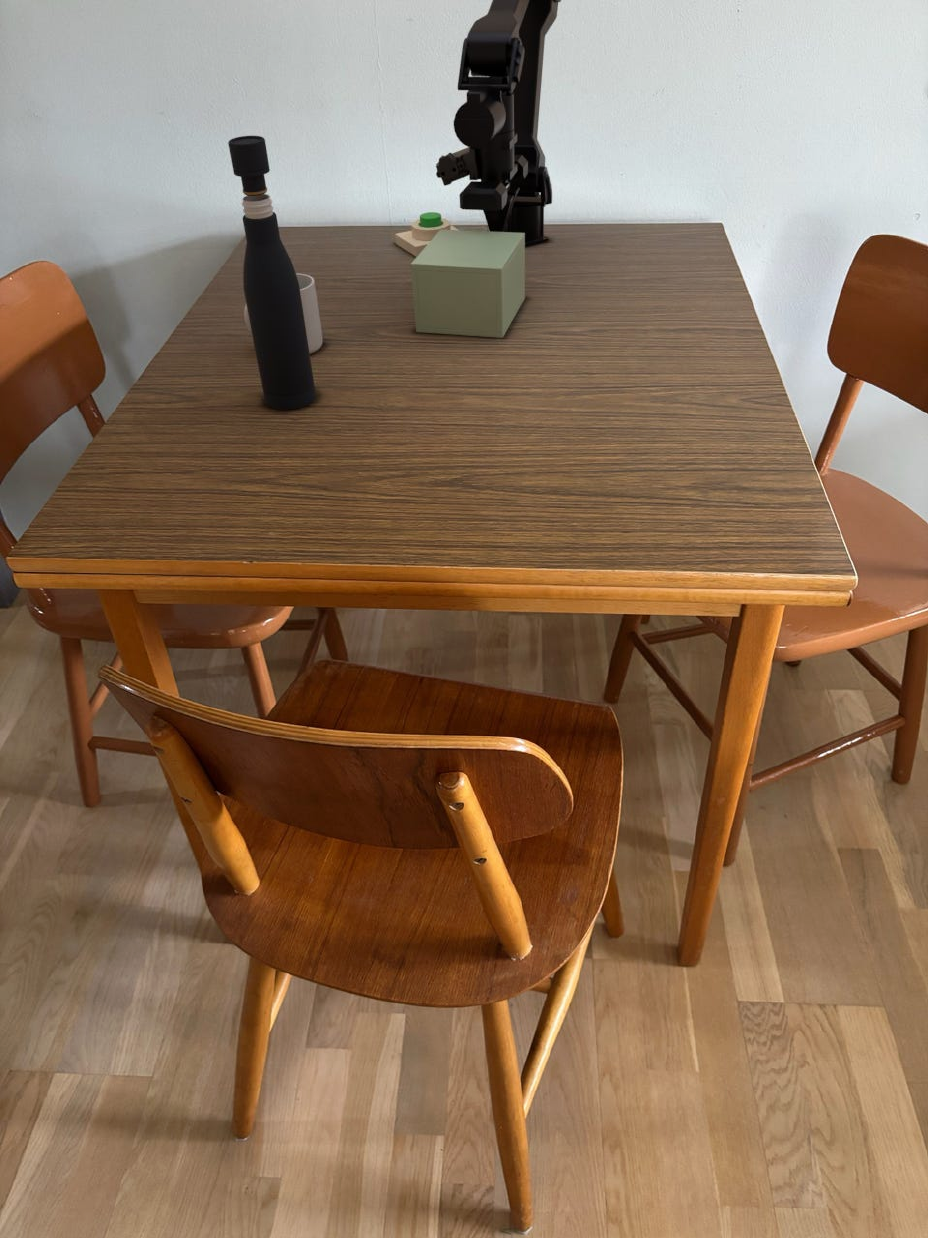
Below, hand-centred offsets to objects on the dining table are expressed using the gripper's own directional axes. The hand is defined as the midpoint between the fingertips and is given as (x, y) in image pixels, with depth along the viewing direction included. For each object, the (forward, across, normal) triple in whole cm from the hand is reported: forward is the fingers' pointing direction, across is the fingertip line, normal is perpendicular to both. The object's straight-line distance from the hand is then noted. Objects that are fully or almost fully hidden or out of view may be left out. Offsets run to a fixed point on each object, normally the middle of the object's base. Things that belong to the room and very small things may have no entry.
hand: (496, 240), depth 147 cm
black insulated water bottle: (+5, +46, -16) cm, 49 cm away
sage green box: (+5, +16, 0) cm, 17 cm away
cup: (+5, +31, -22) cm, 39 cm away
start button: (+2, -13, -15) cm, 20 cm away
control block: (+6, -13, -14) cm, 20 cm away
